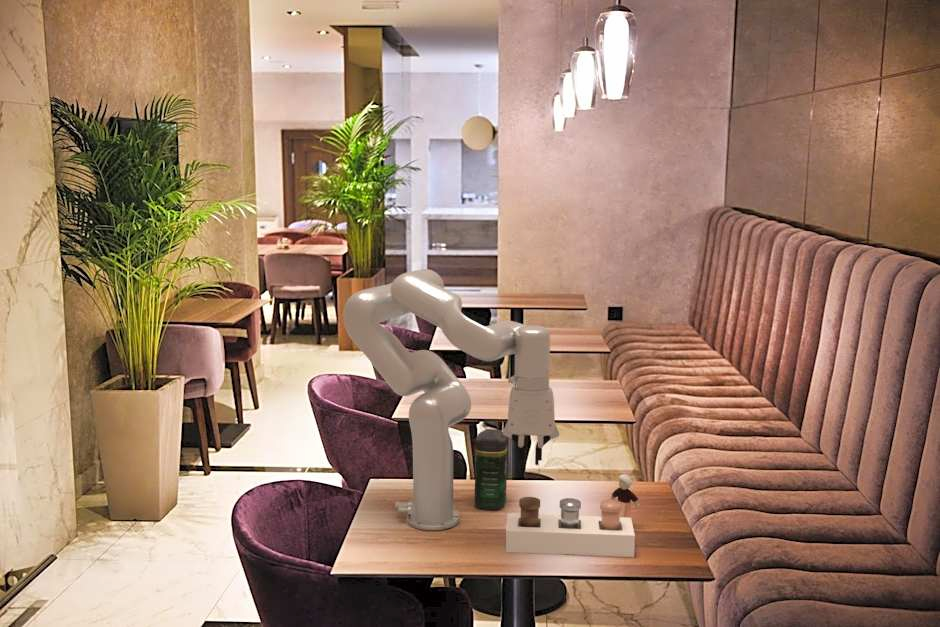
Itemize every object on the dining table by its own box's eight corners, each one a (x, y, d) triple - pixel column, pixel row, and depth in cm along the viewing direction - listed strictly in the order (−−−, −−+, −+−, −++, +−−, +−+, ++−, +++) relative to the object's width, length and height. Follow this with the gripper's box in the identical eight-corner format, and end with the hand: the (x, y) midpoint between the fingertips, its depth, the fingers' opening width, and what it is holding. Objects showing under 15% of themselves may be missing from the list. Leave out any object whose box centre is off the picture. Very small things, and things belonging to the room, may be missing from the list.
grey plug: (559, 531, 213) (559, 505, 212) (558, 523, 218) (559, 497, 217) (580, 532, 213) (581, 506, 212) (579, 523, 218) (580, 498, 216)
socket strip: (505, 552, 212) (506, 530, 211) (507, 533, 222) (508, 513, 221) (634, 557, 210) (634, 535, 209) (630, 538, 220) (631, 517, 219)
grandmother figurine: (605, 525, 227) (606, 474, 225) (610, 520, 230) (612, 469, 228) (636, 532, 224) (638, 480, 221) (641, 526, 227) (643, 475, 225)
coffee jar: (504, 511, 235) (505, 439, 232) (472, 510, 236) (472, 437, 233) (508, 497, 244) (509, 427, 241) (477, 495, 245) (477, 425, 242)
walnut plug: (518, 529, 214) (518, 504, 213) (519, 521, 219) (519, 496, 218) (539, 530, 214) (540, 505, 213) (539, 522, 218) (540, 497, 217)
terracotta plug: (600, 532, 213) (600, 507, 212) (599, 524, 217) (599, 499, 216) (621, 533, 212) (622, 508, 211) (620, 525, 217) (620, 500, 216)
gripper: (494, 386, 207) (493, 467, 210) (569, 388, 206) (567, 470, 209) (496, 377, 214) (495, 456, 218) (568, 379, 213) (566, 458, 216)
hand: (530, 462), depth 213 cm, fingers closed
